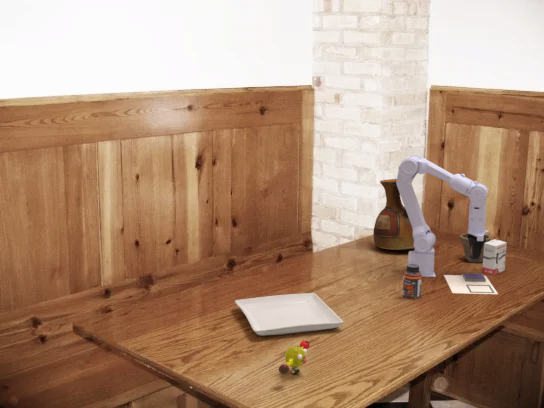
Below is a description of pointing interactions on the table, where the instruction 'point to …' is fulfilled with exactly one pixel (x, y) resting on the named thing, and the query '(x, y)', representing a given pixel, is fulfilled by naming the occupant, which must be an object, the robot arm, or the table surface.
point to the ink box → (494, 257)
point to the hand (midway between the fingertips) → (475, 255)
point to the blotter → (469, 285)
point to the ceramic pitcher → (393, 221)
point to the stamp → (474, 258)
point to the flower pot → (467, 245)
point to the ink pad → (474, 277)
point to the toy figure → (295, 358)
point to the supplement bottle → (412, 282)
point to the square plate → (288, 314)
